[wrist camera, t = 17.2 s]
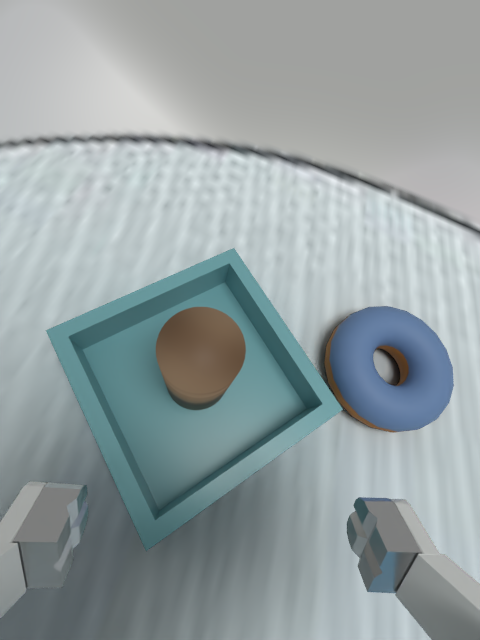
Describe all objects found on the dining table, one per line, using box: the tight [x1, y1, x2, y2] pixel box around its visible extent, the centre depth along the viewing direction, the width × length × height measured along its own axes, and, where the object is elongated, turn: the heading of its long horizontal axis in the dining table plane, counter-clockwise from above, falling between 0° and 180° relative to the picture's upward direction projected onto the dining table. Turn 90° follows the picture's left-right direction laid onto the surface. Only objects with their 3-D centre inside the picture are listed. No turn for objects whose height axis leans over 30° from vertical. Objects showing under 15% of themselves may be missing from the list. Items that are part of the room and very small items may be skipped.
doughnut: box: [324, 306, 454, 432], centre depth 25 cm, size 10×10×5 cm
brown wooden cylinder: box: [156, 307, 246, 410], centre depth 20 cm, size 4×4×8 cm
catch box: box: [46, 248, 343, 551], centre depth 22 cm, size 14×14×4 cm
